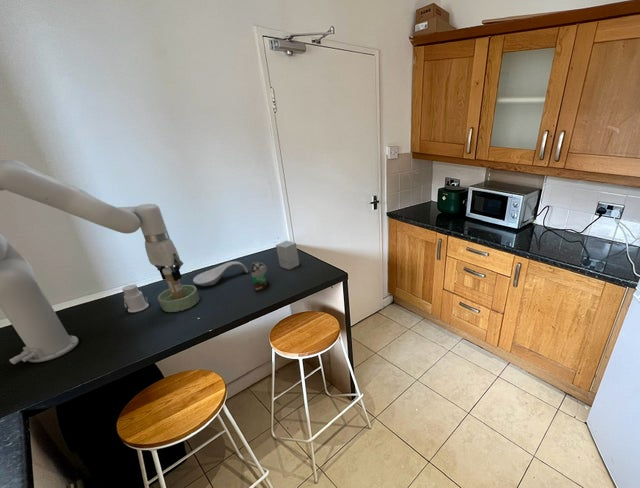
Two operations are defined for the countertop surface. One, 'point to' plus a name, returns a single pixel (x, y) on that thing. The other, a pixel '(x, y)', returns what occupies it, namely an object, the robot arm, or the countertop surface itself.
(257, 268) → the figurine
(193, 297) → the bowl
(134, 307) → the downlight
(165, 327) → the countertop surface
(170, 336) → the countertop surface
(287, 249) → the white packaging box
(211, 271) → the spoon rest
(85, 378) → the countertop surface
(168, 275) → the sprinkles bottle
